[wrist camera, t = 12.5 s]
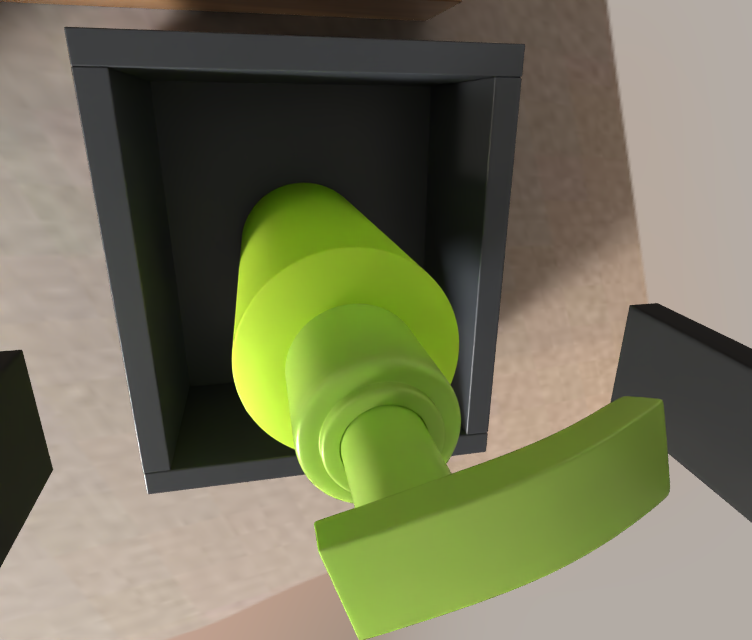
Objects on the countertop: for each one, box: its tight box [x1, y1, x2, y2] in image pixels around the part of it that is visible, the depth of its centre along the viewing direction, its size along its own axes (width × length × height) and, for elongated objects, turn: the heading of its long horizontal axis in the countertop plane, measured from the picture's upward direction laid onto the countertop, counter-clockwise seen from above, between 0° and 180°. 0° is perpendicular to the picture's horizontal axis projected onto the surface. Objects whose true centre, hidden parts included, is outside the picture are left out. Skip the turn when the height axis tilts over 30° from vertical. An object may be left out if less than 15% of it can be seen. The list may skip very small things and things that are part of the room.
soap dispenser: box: [232, 183, 670, 640], centre depth 16 cm, size 6×7×20 cm
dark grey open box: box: [64, 27, 525, 494], centre depth 23 cm, size 16×14×8 cm
